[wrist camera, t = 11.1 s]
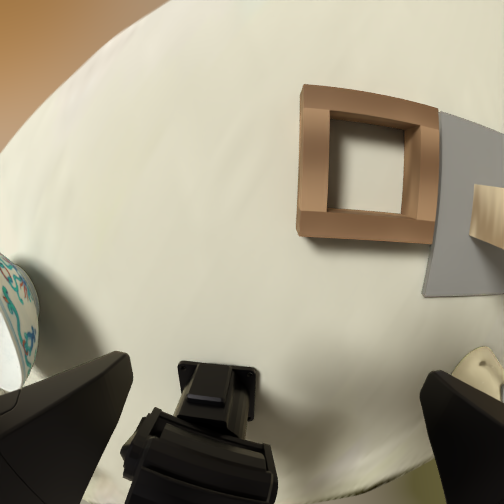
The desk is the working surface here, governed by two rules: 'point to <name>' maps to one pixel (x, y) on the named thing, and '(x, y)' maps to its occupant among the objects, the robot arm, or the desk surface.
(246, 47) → the desk surface
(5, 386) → the chinaware
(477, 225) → the peg
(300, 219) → the collar
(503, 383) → the beer glass
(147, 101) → the desk surface
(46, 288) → the desk surface
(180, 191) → the desk surface
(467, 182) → the rubber mat
